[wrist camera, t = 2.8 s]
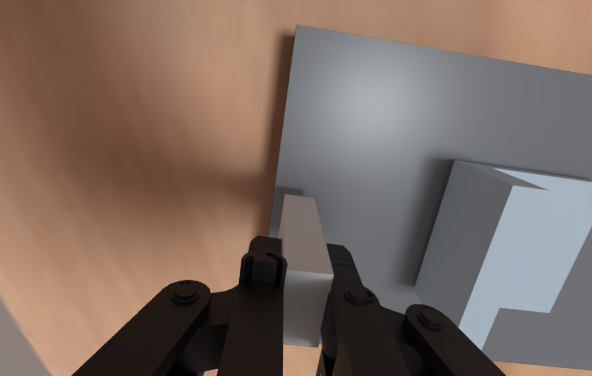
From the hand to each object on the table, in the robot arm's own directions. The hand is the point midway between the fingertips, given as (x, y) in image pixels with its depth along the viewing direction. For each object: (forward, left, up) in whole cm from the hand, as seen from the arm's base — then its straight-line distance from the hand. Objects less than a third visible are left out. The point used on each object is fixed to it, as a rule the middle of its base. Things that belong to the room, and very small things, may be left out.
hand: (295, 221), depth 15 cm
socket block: (0, +12, -4) cm, 13 cm away
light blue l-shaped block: (0, +12, -1) cm, 12 cm away
